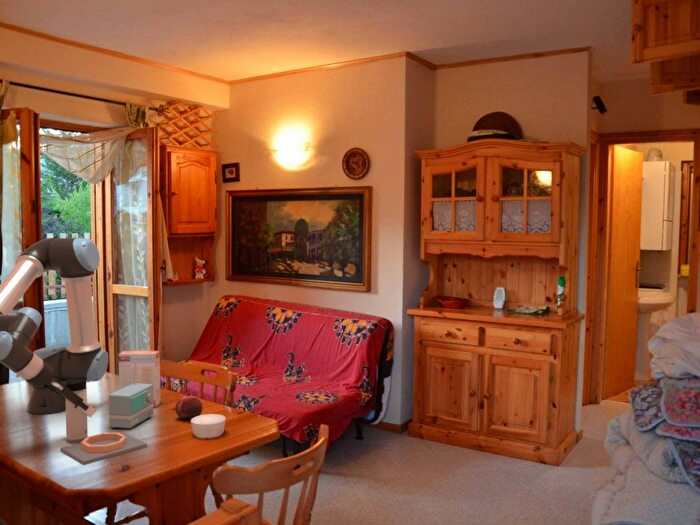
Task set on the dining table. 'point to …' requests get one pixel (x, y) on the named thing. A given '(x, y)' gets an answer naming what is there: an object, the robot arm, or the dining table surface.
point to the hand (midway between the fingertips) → (88, 411)
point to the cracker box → (140, 370)
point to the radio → (131, 405)
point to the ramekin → (208, 425)
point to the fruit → (188, 407)
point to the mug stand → (102, 447)
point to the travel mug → (76, 412)
